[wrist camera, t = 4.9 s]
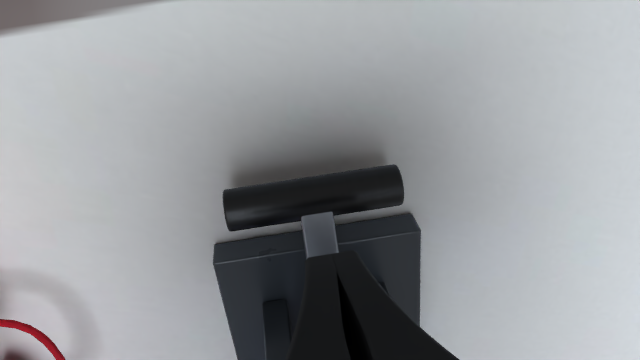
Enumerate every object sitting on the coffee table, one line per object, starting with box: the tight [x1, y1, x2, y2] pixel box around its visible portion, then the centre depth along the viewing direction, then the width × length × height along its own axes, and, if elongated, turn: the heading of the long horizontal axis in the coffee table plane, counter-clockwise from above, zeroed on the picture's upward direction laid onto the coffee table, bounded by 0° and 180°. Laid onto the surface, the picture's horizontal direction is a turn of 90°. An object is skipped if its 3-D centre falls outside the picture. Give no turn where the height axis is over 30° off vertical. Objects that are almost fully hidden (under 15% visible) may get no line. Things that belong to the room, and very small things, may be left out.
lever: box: [223, 164, 404, 259], centre depth 18 cm, size 10×6×2 cm, turn 5°
